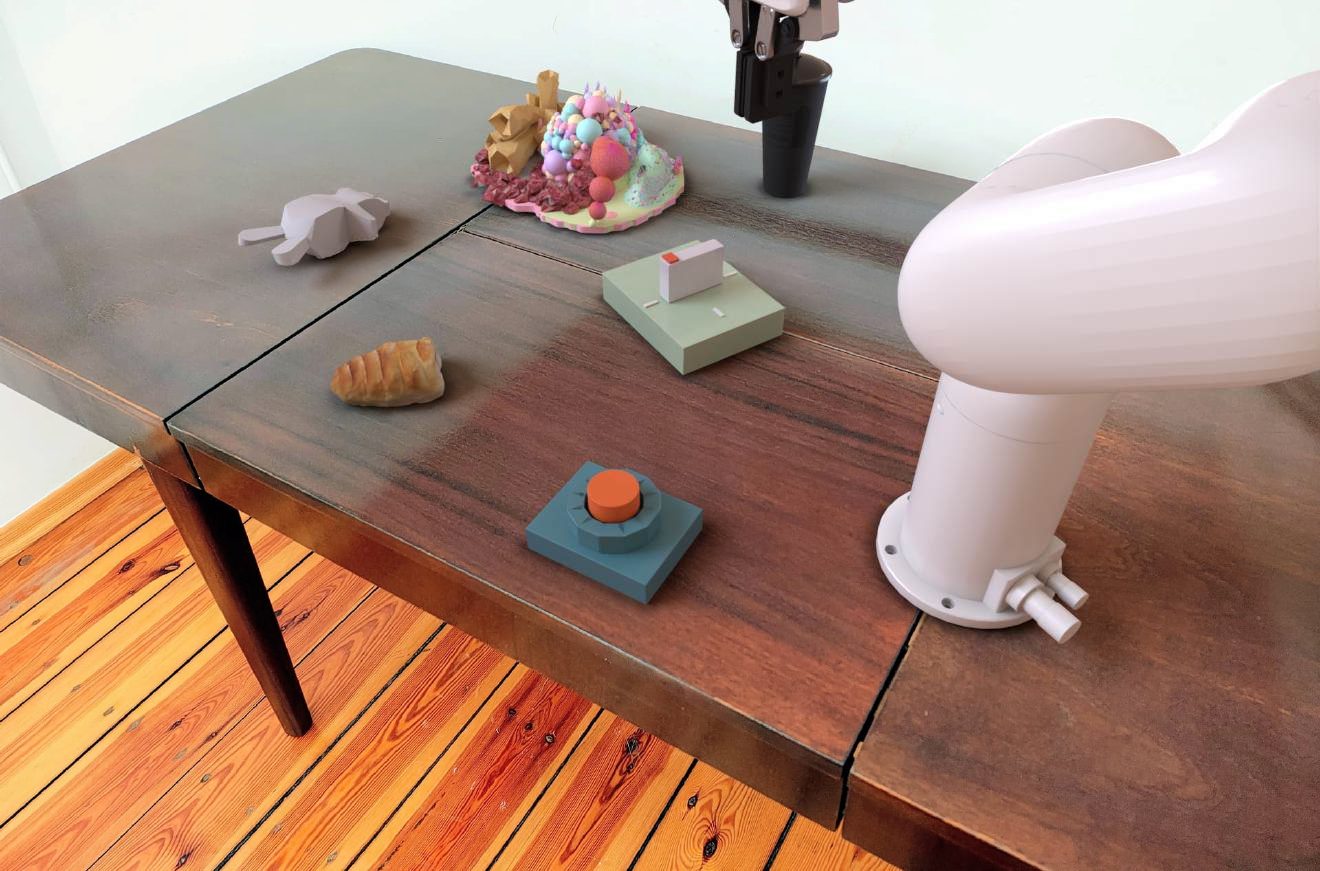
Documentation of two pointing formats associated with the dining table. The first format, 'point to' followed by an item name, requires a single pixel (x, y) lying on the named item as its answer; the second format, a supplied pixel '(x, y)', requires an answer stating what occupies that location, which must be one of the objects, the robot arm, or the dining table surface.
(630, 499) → the button
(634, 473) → the button block
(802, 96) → the drinking cup
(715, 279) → the white block with red
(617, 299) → the panel
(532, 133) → the pastel sphere sculpture
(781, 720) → the dining table surface
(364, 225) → the bunny figurine
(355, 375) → the pastry
